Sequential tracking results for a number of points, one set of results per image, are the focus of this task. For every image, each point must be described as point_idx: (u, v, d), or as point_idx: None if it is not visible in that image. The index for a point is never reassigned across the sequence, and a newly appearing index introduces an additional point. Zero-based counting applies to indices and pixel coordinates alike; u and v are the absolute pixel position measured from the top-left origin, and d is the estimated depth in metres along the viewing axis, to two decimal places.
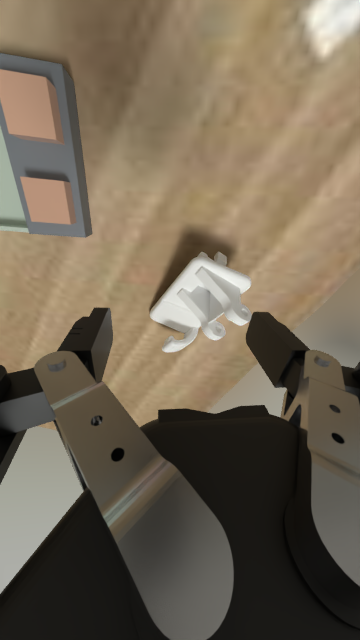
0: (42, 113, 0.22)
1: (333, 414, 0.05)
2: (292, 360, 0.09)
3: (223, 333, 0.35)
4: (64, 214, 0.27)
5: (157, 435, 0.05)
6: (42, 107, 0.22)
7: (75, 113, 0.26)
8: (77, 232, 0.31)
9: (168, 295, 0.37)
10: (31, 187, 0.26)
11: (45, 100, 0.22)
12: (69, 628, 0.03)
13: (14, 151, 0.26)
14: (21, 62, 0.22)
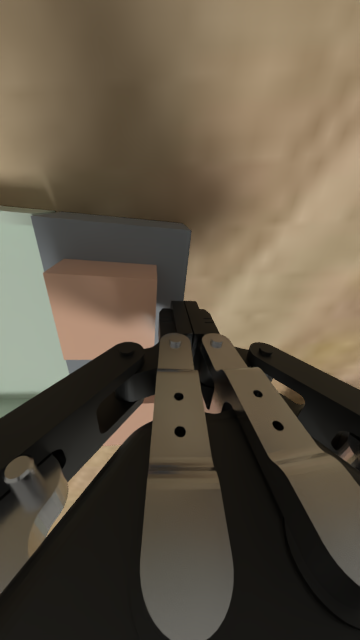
0: (136, 329, 0.11)
1: (259, 399, 0.05)
2: (197, 344, 0.09)
3: None
4: None
5: None
6: (138, 321, 0.11)
7: None
8: None
9: None
10: None
11: (147, 312, 0.10)
12: (69, 629, 0.03)
13: None
14: (113, 232, 0.11)
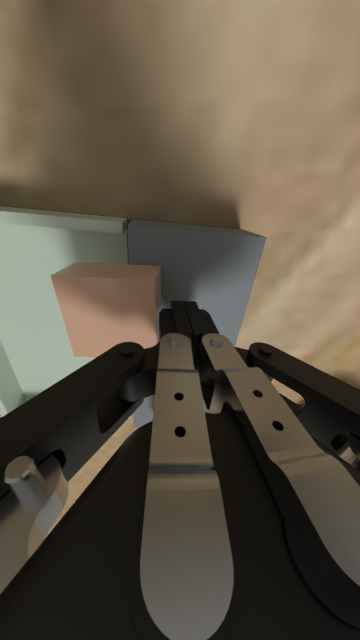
0: (138, 329, 0.11)
1: (259, 399, 0.05)
2: (197, 344, 0.09)
3: None
4: None
5: None
6: (139, 322, 0.11)
7: None
8: None
9: None
10: None
11: (147, 312, 0.10)
12: (69, 629, 0.03)
13: None
14: (197, 239, 0.12)
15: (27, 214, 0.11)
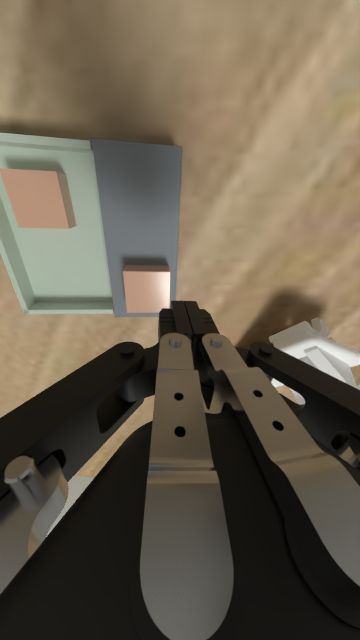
0: None
1: (259, 399, 0.05)
2: (197, 344, 0.09)
3: None
4: (164, 303, 0.24)
5: None
6: None
7: None
8: None
9: None
10: (133, 280, 0.22)
11: None
12: (69, 629, 0.03)
13: (112, 240, 0.22)
14: (136, 148, 0.18)
15: (31, 136, 0.18)
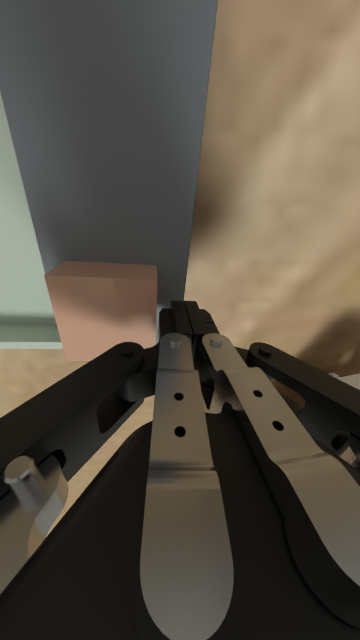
0: None
1: (259, 399, 0.05)
2: (197, 344, 0.09)
3: None
4: (145, 343, 0.11)
5: None
6: None
7: None
8: None
9: None
10: (71, 297, 0.10)
11: None
12: (69, 629, 0.03)
13: (46, 202, 0.10)
14: None
15: None
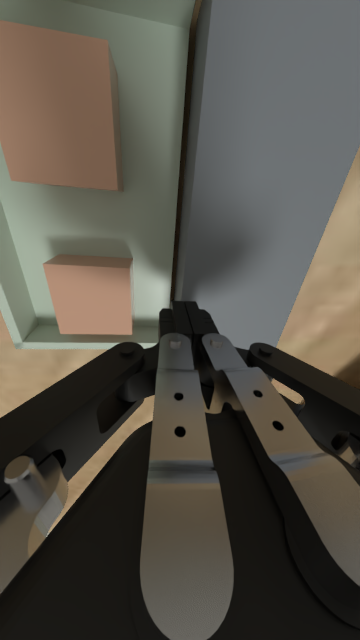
0: None
1: (259, 400, 0.05)
2: (197, 344, 0.09)
3: None
4: None
5: None
6: None
7: None
8: None
9: None
10: None
11: None
12: (69, 629, 0.03)
13: (205, 218, 0.11)
14: None
15: None
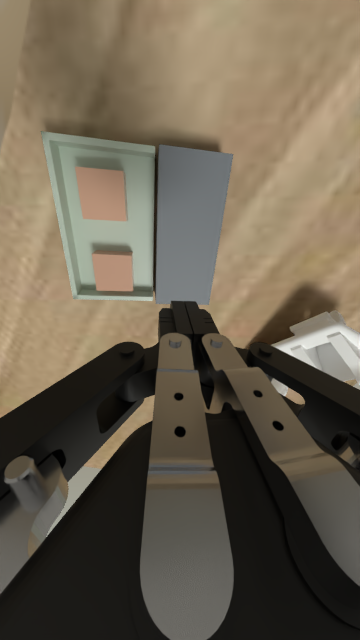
0: None
1: (259, 399, 0.05)
2: (197, 344, 0.09)
3: None
4: None
5: None
6: None
7: None
8: (202, 300, 0.30)
9: None
10: None
11: None
12: (69, 628, 0.03)
13: (164, 232, 0.25)
14: (195, 154, 0.22)
15: (107, 140, 0.21)
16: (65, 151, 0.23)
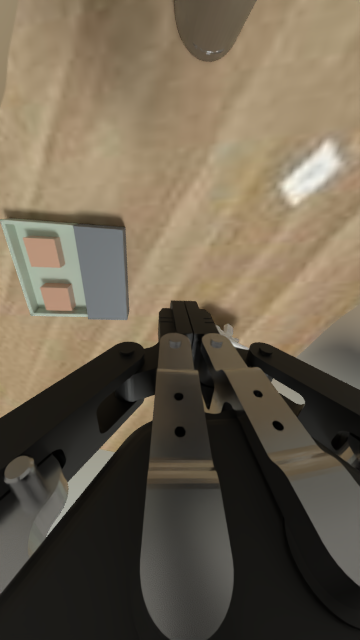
0: None
1: (259, 399, 0.05)
2: (197, 344, 0.09)
3: None
4: None
5: None
6: None
7: (125, 245, 0.39)
8: (121, 317, 0.43)
9: None
10: None
11: None
12: (69, 629, 0.03)
13: (85, 274, 0.38)
14: (97, 230, 0.34)
15: (41, 223, 0.34)
16: (18, 225, 0.36)
